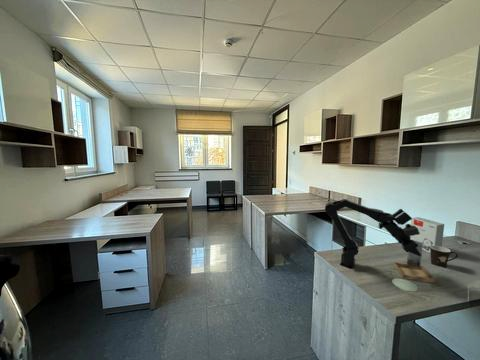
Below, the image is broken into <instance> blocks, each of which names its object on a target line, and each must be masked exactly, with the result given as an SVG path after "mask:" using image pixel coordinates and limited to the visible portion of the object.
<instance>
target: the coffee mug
mask: <svg viewBox="0 0 480 360" xmlns="http://www.w3.org/2000/svg"><path fill="white" fill-rule="evenodd" d="M429 254H430V264H431V265H433V266H436V267H441V268H447V265H448V262H450V261H453V260H456V259H457V258H458V253H456V252H454V251H451V249H449V248H447V247H445V246H442V247H441V246H435V245H432V246H430V253H429ZM451 254H455V256H454V257H453V258H450V255H451ZM449 258H450V259H449Z"/></svg>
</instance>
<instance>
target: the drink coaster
mask: <svg viewBox="0 0 480 360" xmlns="http://www.w3.org/2000/svg"><path fill="white" fill-rule="evenodd" d="M391 282H392V284H393V285H394V286H395V287H396V288H397V289H399V290H402V291H404V292H417V291H418V290H419V287H418V285H416V284H415V283H414V282H412V281H410V280H408V279H404V278H399V277H398V278H393V279H392V281H391Z"/></svg>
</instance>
